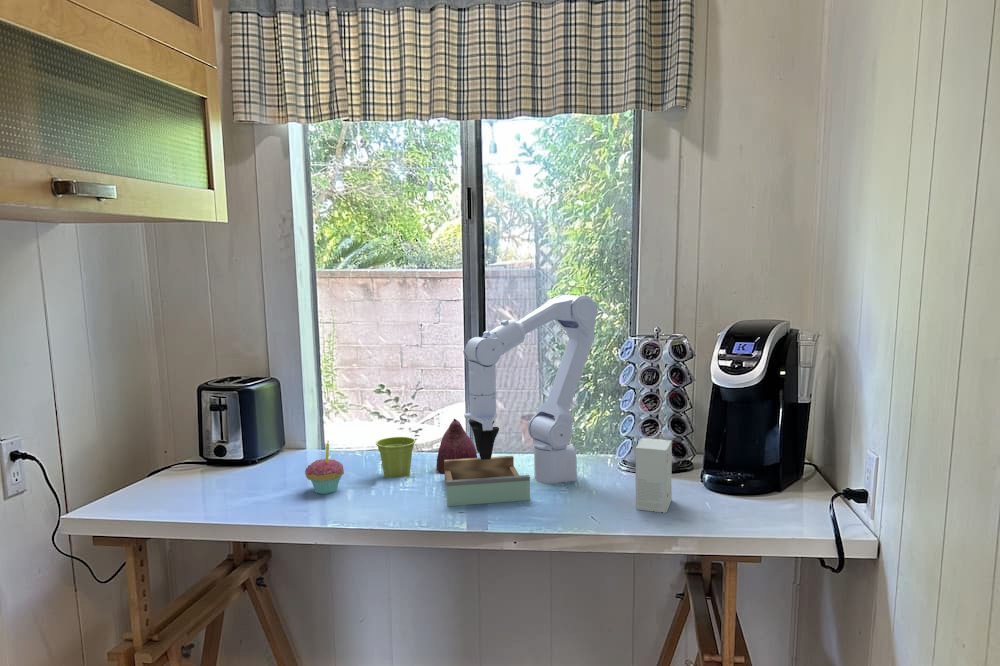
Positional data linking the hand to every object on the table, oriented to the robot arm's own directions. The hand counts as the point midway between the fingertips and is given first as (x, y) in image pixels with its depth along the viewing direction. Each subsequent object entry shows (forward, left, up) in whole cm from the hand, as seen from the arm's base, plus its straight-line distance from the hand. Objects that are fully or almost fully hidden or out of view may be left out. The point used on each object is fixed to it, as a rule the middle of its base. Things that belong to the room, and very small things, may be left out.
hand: (483, 455), depth 134 cm
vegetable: (+4, -22, -10) cm, 24 cm away
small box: (-34, +11, -10) cm, 37 cm away
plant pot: (+19, -19, -10) cm, 29 cm away
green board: (0, +6, -8) cm, 10 cm away
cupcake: (+35, -12, -10) cm, 38 cm away
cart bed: (0, -2, -9) cm, 10 cm away
